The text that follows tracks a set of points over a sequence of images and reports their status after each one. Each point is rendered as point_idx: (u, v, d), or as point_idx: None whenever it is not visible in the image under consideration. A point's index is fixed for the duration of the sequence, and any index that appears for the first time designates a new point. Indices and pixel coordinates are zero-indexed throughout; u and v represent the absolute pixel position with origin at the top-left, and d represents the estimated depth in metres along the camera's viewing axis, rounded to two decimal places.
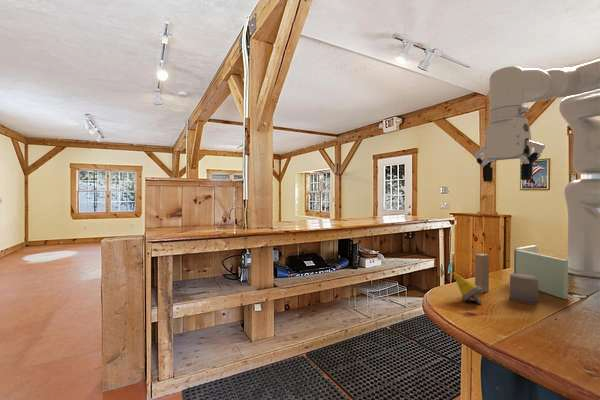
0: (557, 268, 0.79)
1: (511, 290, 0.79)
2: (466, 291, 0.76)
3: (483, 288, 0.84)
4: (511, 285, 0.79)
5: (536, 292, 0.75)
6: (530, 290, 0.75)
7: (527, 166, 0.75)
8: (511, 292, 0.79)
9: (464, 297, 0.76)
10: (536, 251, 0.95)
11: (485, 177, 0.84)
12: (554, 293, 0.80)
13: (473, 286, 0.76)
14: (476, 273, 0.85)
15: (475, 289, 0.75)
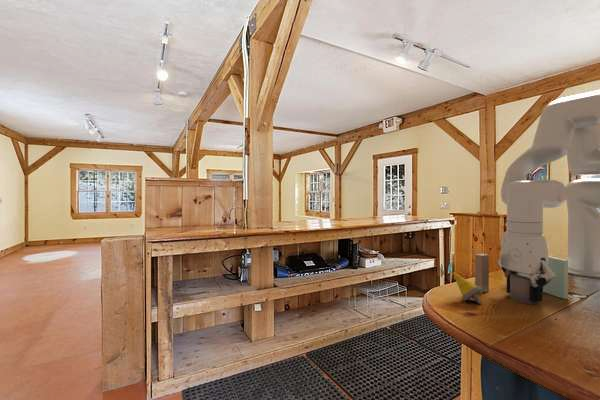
0: (557, 268, 0.79)
1: (511, 290, 0.79)
2: (466, 291, 0.76)
3: (483, 288, 0.84)
4: (511, 285, 0.79)
5: None
6: None
7: None
8: (511, 292, 0.79)
9: (464, 297, 0.76)
10: None
11: None
12: (554, 293, 0.80)
13: (473, 286, 0.76)
14: (476, 273, 0.85)
15: (475, 289, 0.75)
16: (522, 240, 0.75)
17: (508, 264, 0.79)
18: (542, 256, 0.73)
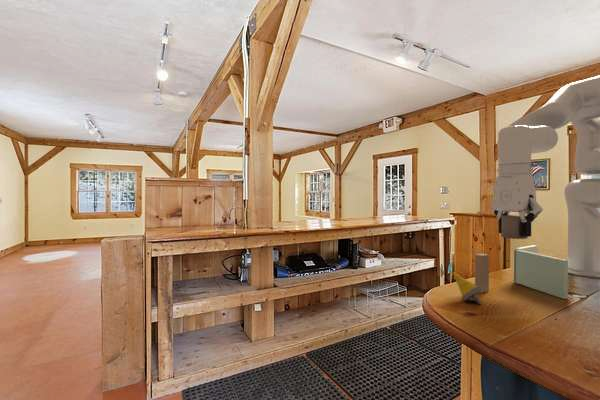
0: (557, 268, 0.79)
1: (502, 229, 0.85)
2: (466, 291, 0.76)
3: (483, 288, 0.84)
4: (502, 224, 0.85)
5: None
6: None
7: None
8: (502, 230, 0.85)
9: (464, 297, 0.76)
10: (536, 251, 0.95)
11: None
12: (554, 293, 0.80)
13: (473, 286, 0.76)
14: (476, 273, 0.85)
15: (475, 289, 0.75)
16: (512, 180, 0.82)
17: (500, 206, 0.86)
18: (530, 193, 0.79)
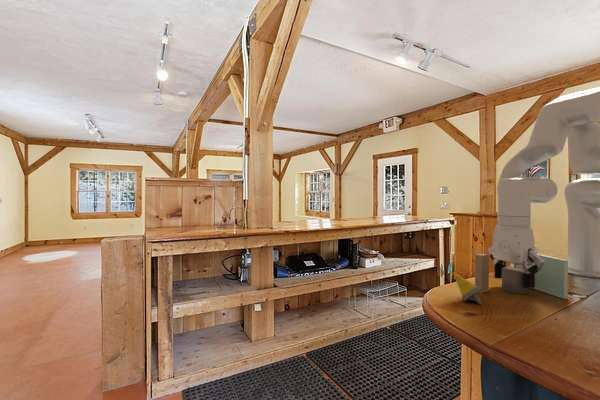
0: (557, 268, 0.79)
1: (503, 282, 0.86)
2: (466, 291, 0.76)
3: (483, 288, 0.84)
4: (503, 277, 0.86)
5: None
6: (520, 282, 0.82)
7: None
8: (503, 284, 0.86)
9: (464, 297, 0.76)
10: (536, 251, 0.95)
11: None
12: (554, 293, 0.80)
13: (473, 286, 0.76)
14: (476, 273, 0.85)
15: (475, 289, 0.75)
16: (511, 232, 0.82)
17: (499, 255, 0.86)
18: (529, 247, 0.80)
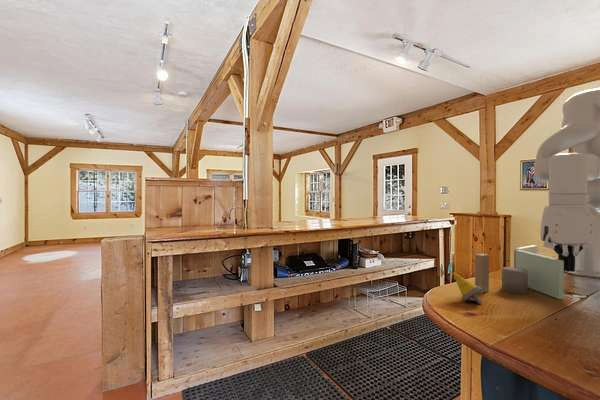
0: (553, 268, 0.79)
1: (503, 282, 0.86)
2: (466, 291, 0.76)
3: (483, 288, 0.84)
4: (503, 277, 0.86)
5: (525, 283, 0.82)
6: (520, 282, 0.82)
7: None
8: (503, 283, 0.86)
9: (464, 297, 0.76)
10: (536, 251, 0.95)
11: (570, 267, 0.77)
12: (550, 293, 0.80)
13: (473, 286, 0.76)
14: (476, 273, 0.85)
15: (475, 289, 0.75)
16: None
17: None
18: (545, 224, 0.79)
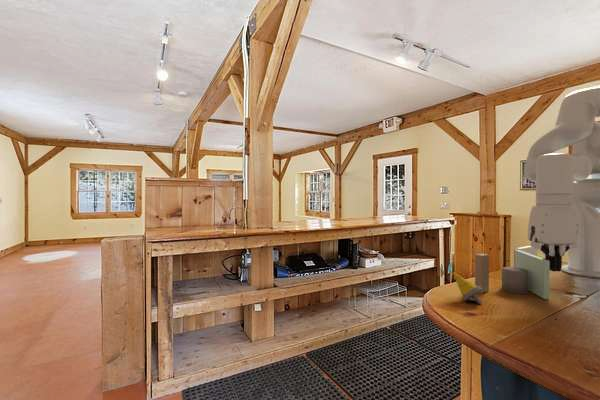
0: (540, 268, 0.79)
1: (502, 282, 0.86)
2: (466, 291, 0.76)
3: (483, 288, 0.84)
4: (502, 277, 0.86)
5: (525, 283, 0.82)
6: (520, 282, 0.82)
7: None
8: (503, 283, 0.86)
9: (464, 297, 0.76)
10: (536, 251, 0.95)
11: (556, 267, 0.78)
12: (538, 293, 0.80)
13: (473, 286, 0.76)
14: (476, 273, 0.85)
15: (475, 289, 0.75)
16: None
17: None
18: (532, 224, 0.80)
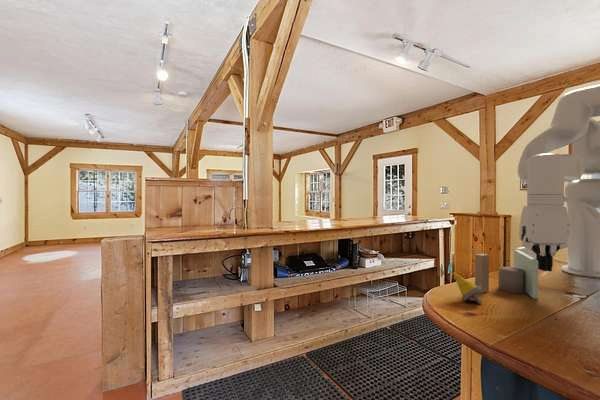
0: (530, 268, 0.80)
1: (499, 281, 0.86)
2: (466, 291, 0.76)
3: (483, 288, 0.84)
4: (499, 277, 0.86)
5: (522, 283, 0.83)
6: (516, 281, 0.82)
7: None
8: (499, 283, 0.86)
9: (464, 297, 0.76)
10: None
11: (547, 266, 0.78)
12: (528, 292, 0.81)
13: (473, 286, 0.76)
14: (476, 273, 0.85)
15: (475, 289, 0.75)
16: None
17: None
18: (523, 224, 0.80)
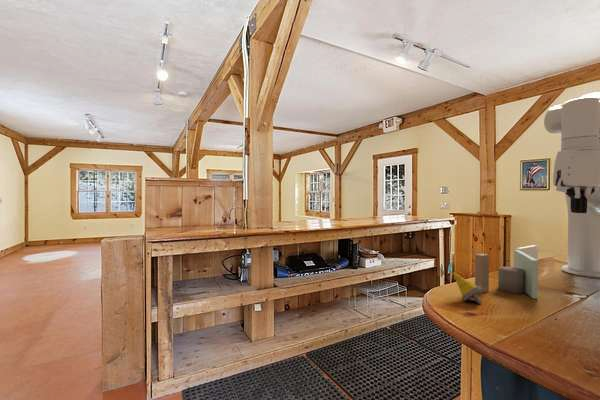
0: (529, 268, 0.80)
1: (499, 281, 0.86)
2: (466, 291, 0.76)
3: (483, 288, 0.84)
4: (499, 277, 0.86)
5: (521, 283, 0.83)
6: (516, 281, 0.82)
7: None
8: (499, 283, 0.86)
9: (464, 297, 0.76)
10: (536, 251, 0.95)
11: (582, 208, 0.80)
12: (528, 292, 0.81)
13: (473, 286, 0.76)
14: (476, 273, 0.85)
15: (475, 289, 0.75)
16: None
17: None
18: (558, 169, 0.82)
